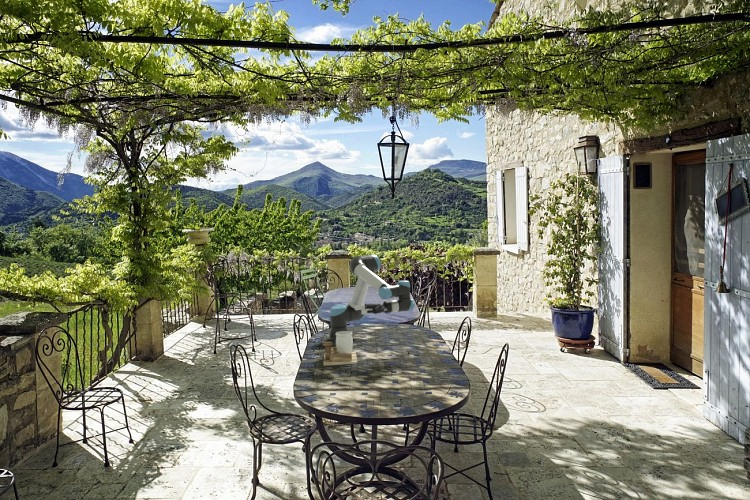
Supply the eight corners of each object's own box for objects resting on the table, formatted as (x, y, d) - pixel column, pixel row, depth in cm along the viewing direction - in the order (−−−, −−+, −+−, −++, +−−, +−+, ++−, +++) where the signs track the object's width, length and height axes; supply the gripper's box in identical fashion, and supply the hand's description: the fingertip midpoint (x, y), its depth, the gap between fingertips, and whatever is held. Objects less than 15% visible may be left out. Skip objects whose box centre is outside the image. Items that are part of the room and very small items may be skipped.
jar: (351, 359, 319) (349, 334, 318) (334, 358, 322) (333, 334, 320) (355, 354, 330) (354, 330, 328) (339, 354, 332) (338, 330, 331)
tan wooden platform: (324, 355, 335) (323, 336, 334) (355, 353, 336) (355, 334, 335) (323, 365, 313) (322, 345, 312) (357, 363, 314) (356, 343, 313)
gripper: (398, 316, 322) (364, 320, 315) (383, 308, 346) (352, 312, 339) (397, 304, 321) (364, 307, 314) (383, 297, 345) (352, 300, 338)
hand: (358, 310), depth 327 cm, fingers open, 13 cm apart
